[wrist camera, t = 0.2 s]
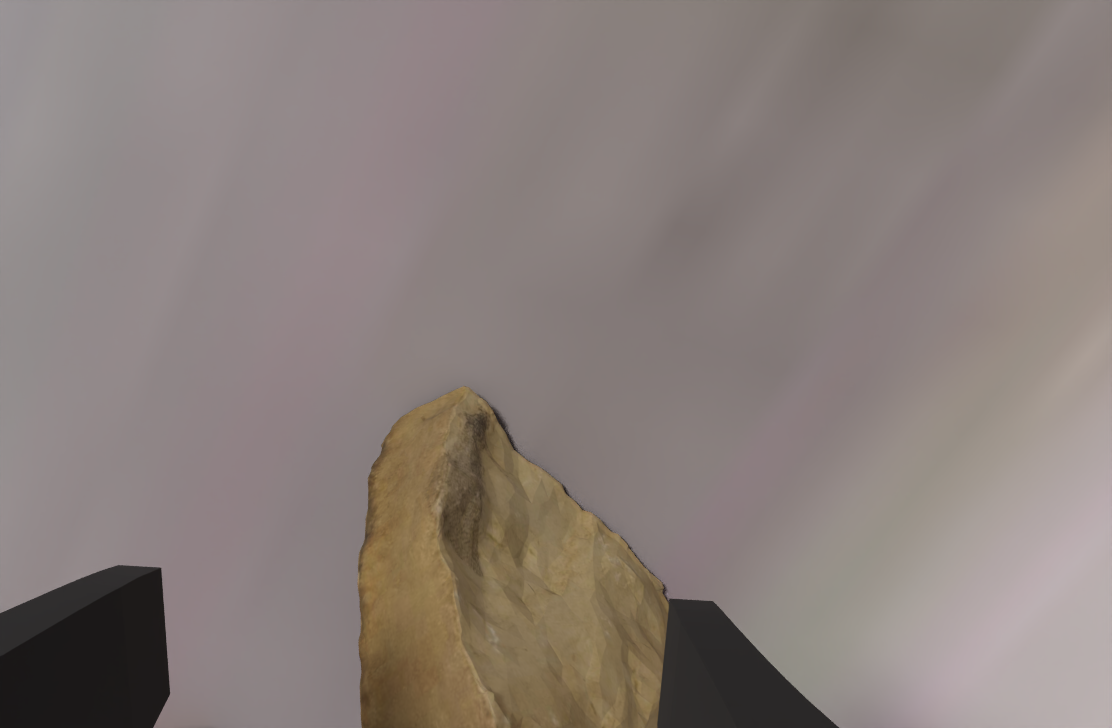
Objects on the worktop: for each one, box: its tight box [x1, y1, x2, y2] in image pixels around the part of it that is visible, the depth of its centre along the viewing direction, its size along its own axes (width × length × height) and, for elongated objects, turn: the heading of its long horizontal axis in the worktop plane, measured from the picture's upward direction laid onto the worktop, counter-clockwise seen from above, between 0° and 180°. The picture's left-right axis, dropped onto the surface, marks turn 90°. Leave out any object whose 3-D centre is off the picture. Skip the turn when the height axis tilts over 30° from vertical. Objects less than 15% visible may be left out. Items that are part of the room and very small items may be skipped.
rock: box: [358, 386, 669, 728], centre depth 19 cm, size 11×9×10 cm
